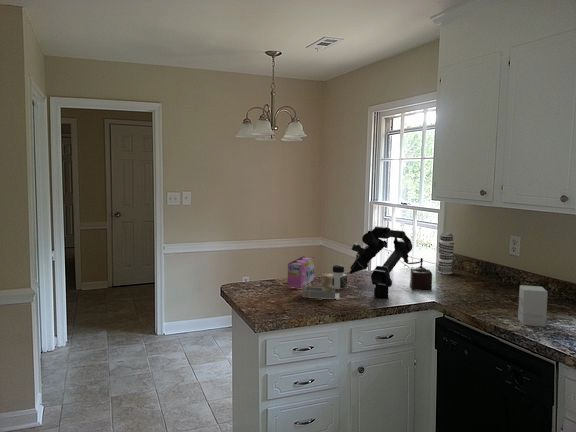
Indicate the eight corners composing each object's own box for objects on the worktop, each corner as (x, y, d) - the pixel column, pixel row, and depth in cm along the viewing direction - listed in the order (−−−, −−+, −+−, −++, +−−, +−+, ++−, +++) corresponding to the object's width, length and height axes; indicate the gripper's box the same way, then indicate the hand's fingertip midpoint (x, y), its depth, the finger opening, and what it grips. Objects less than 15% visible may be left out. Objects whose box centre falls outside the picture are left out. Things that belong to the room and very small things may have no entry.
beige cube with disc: (334, 293, 235) (334, 273, 234) (333, 296, 229) (334, 276, 228) (322, 292, 236) (322, 273, 235) (321, 296, 230) (322, 276, 229)
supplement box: (540, 320, 200) (542, 286, 198) (546, 327, 191) (548, 291, 189) (517, 318, 202) (519, 284, 200) (522, 325, 193) (524, 289, 192)
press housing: (339, 294, 237) (339, 281, 236) (339, 300, 227) (339, 286, 226) (304, 293, 239) (304, 280, 238) (302, 298, 229) (302, 285, 229)
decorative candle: (449, 271, 297) (451, 232, 294) (455, 274, 288) (457, 234, 285) (435, 270, 297) (437, 232, 294) (440, 274, 287) (442, 234, 285)
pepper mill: (428, 285, 258) (430, 253, 256) (432, 290, 247) (433, 257, 245) (400, 284, 260) (401, 252, 258) (402, 289, 249) (403, 256, 247)
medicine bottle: (340, 289, 247) (340, 267, 246) (328, 287, 251) (329, 265, 250) (347, 287, 253) (347, 265, 251) (335, 285, 257) (336, 263, 256)
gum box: (302, 278, 271) (303, 255, 270) (315, 280, 268) (316, 257, 267) (287, 288, 249) (287, 263, 248) (300, 289, 246) (301, 264, 245)
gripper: (361, 234, 237) (340, 255, 240) (361, 240, 219) (337, 263, 222) (377, 250, 236) (355, 271, 240) (377, 257, 218) (354, 280, 221)
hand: (350, 270), depth 231 cm, fingers open, 9 cm apart
